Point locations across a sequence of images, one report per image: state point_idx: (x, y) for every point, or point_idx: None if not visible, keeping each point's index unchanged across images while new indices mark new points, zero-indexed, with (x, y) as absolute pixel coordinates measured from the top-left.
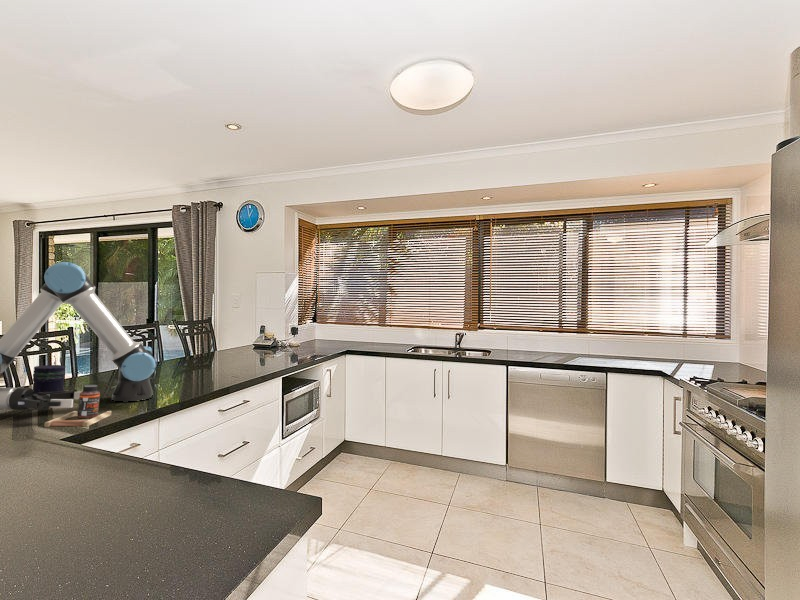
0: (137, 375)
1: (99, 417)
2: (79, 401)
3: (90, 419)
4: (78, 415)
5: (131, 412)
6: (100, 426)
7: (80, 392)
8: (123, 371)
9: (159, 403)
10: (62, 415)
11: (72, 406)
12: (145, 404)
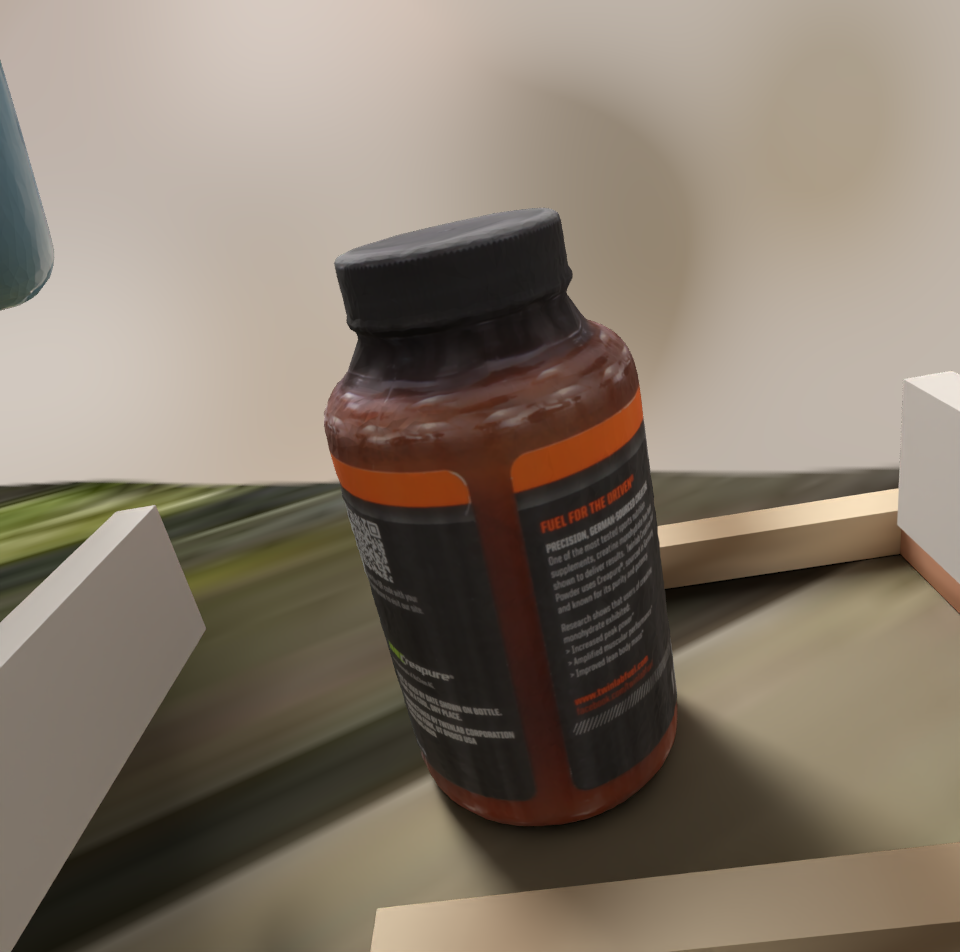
0: (42, 210)
1: (708, 526)
2: (621, 537)
3: (854, 512)
4: (659, 745)
5: (354, 537)
6: (896, 469)
7: (3, 681)
8: (5, 123)
9: (36, 546)
10: (815, 934)
11: (906, 511)
12: (16, 596)
